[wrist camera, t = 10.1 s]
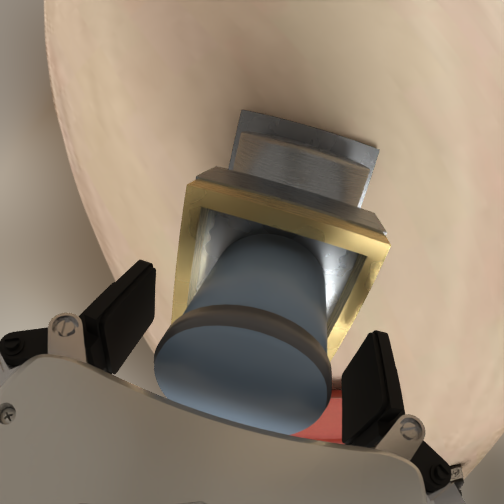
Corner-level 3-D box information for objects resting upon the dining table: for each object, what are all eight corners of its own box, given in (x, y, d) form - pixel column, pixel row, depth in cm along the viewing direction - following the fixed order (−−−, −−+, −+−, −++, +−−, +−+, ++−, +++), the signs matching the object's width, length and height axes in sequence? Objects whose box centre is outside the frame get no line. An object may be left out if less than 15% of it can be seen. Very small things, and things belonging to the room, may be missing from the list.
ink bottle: (467, 461, 43) (473, 495, 33) (451, 473, 47) (455, 505, 36) (440, 467, 45) (445, 503, 34) (425, 479, 49) (428, 512, 38)
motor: (244, 110, 23) (169, 99, 10) (377, 148, 22) (449, 181, 9) (211, 265, 30) (149, 362, 18) (321, 298, 30) (319, 414, 17)
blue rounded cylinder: (222, 215, 14) (149, 298, 7) (346, 252, 13) (366, 363, 7) (204, 313, 16) (152, 408, 10) (305, 343, 16) (293, 451, 10)
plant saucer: (368, 437, 41) (368, 452, 38) (270, 436, 45) (267, 451, 42) (393, 377, 33) (396, 395, 30) (264, 377, 37) (259, 395, 34)
